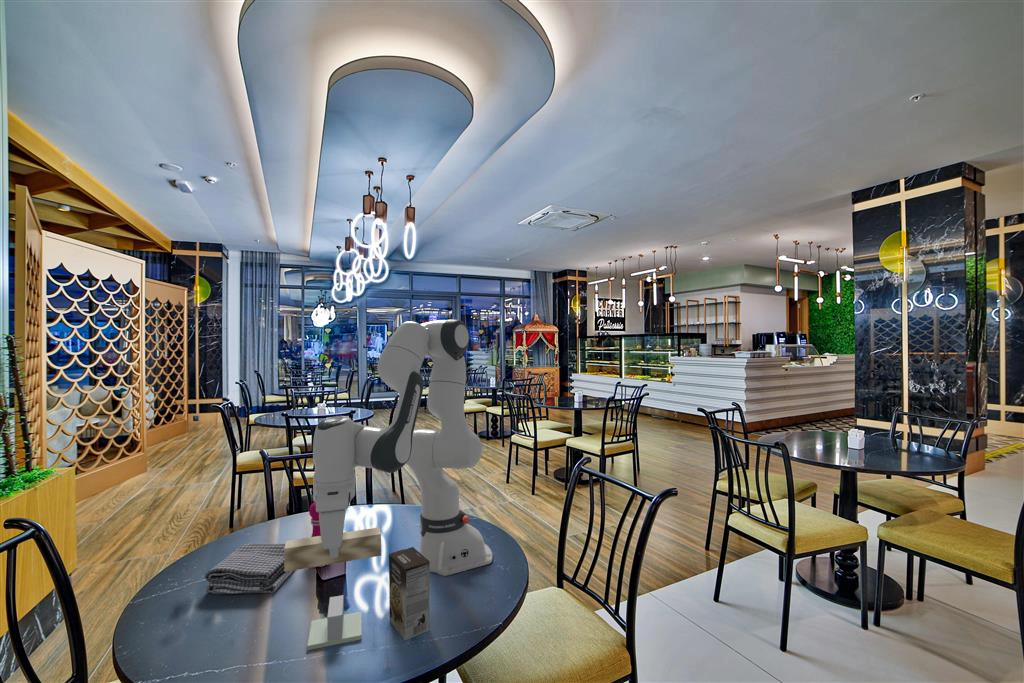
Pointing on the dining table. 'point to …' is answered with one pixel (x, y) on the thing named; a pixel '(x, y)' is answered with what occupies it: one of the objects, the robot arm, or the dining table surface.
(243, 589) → the towel
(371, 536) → the beech bar
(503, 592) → the dining table surface
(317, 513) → the pepper mill
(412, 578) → the coffee box
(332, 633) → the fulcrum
